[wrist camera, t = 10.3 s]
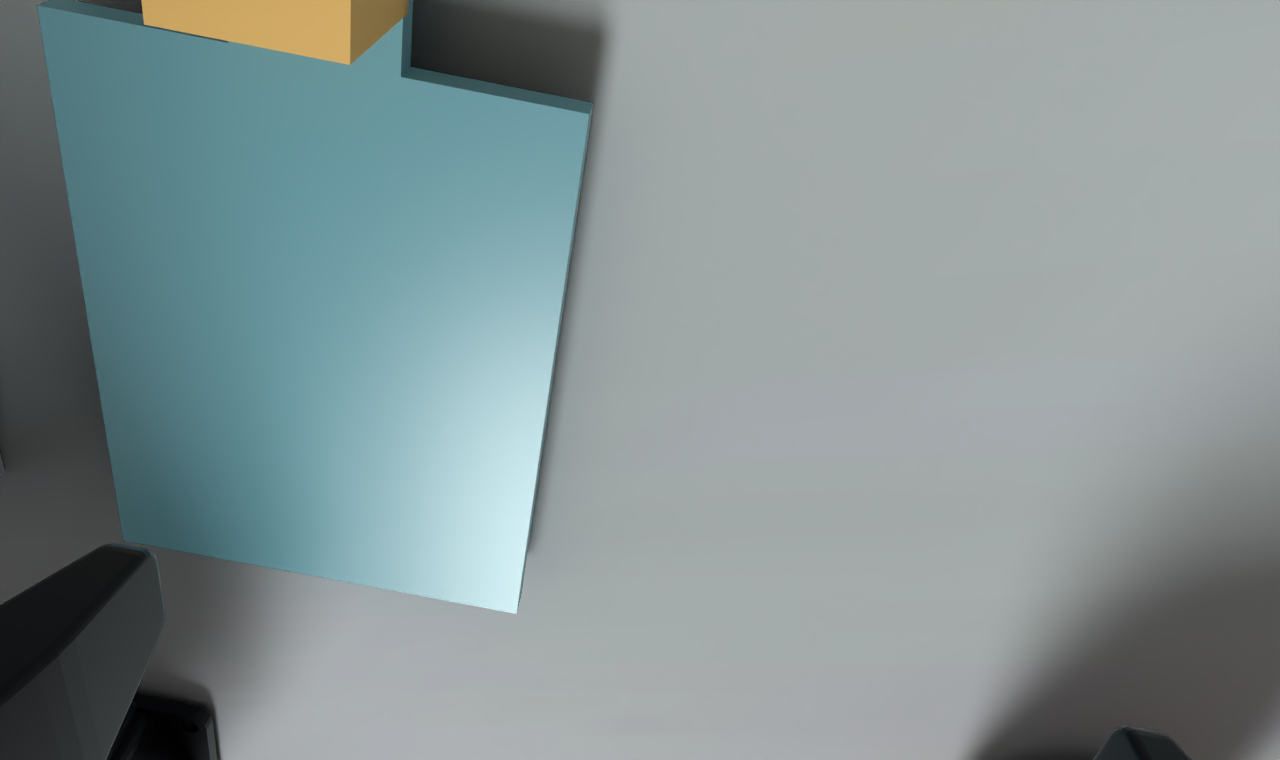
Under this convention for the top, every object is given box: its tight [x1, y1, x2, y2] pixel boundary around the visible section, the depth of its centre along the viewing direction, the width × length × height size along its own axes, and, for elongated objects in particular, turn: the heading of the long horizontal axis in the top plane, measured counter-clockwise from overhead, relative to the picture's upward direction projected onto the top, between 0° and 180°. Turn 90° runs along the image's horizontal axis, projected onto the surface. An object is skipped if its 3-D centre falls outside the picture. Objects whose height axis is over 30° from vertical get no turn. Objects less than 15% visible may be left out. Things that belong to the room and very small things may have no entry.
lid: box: [37, 0, 593, 614], centre depth 19 cm, size 16×10×4 cm, turn 170°
